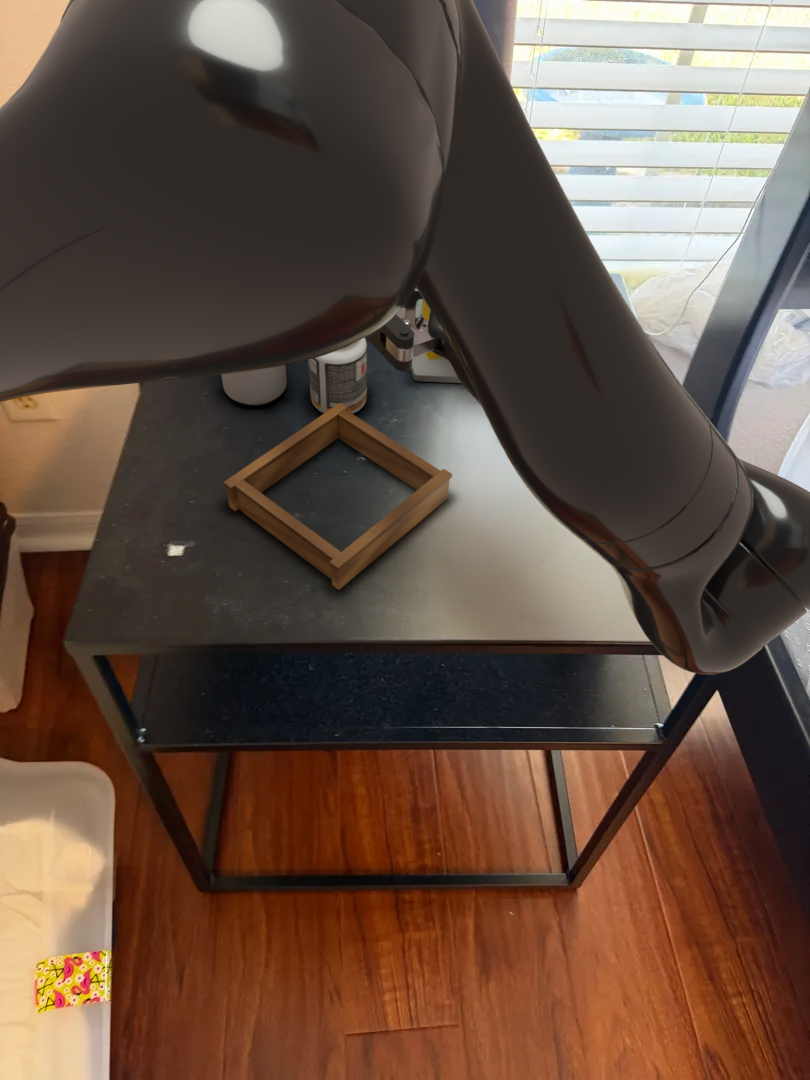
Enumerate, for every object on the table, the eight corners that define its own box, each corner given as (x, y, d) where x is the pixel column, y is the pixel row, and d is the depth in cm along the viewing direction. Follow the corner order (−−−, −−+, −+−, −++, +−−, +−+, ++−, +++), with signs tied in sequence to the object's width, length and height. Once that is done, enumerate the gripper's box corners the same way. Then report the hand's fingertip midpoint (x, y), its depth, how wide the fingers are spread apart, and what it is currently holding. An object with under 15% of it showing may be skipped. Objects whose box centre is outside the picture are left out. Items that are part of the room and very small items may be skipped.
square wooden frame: (338, 592, 69) (338, 568, 67) (227, 507, 75) (223, 482, 72) (449, 498, 77) (452, 473, 74) (340, 427, 82) (340, 402, 79)
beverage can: (266, 417, 82) (255, 315, 73) (211, 397, 84) (193, 294, 75) (298, 381, 86) (292, 279, 77) (245, 362, 88) (232, 260, 78)
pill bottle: (374, 390, 86) (376, 308, 78) (354, 425, 82) (354, 343, 75) (323, 376, 87) (320, 294, 79) (301, 410, 83) (295, 328, 76)
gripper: (652, 299, 50) (504, 177, 59) (449, 364, 45) (321, 220, 54) (621, 396, 56) (490, 272, 64) (438, 462, 51) (324, 318, 60)
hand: (413, 248), depth 59 cm, fingers open, 8 cm apart
